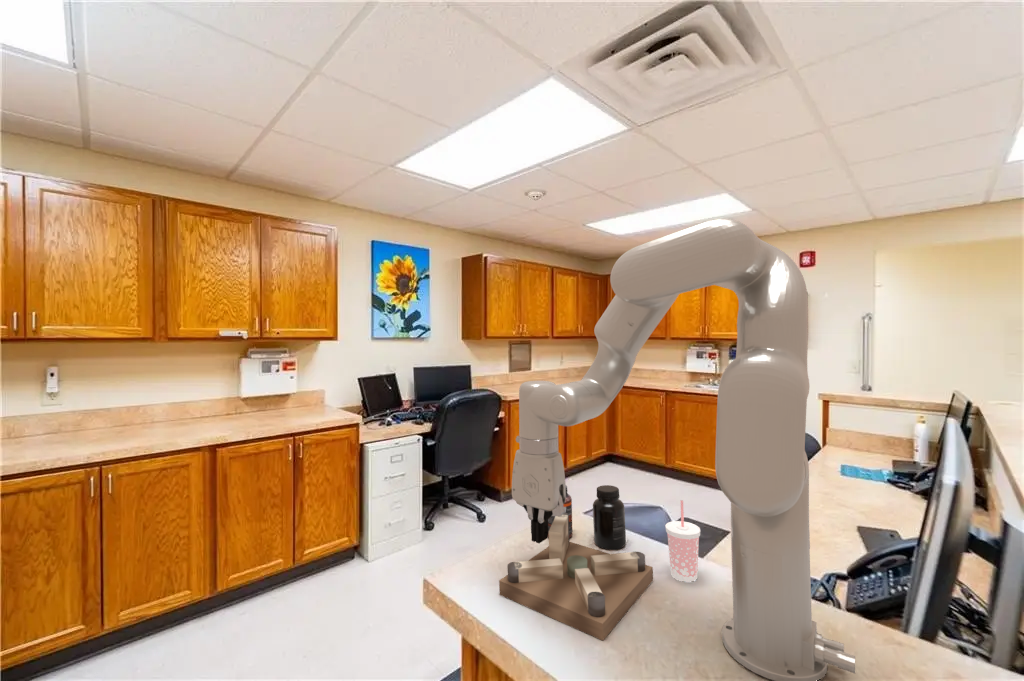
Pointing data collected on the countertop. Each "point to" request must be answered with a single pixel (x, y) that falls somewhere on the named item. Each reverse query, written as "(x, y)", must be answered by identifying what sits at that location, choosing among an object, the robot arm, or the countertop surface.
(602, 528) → the supplement bottle
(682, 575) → the beverage cup
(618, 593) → the stool seat
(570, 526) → the supplement bottle
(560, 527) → the hinged leg
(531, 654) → the countertop surface
